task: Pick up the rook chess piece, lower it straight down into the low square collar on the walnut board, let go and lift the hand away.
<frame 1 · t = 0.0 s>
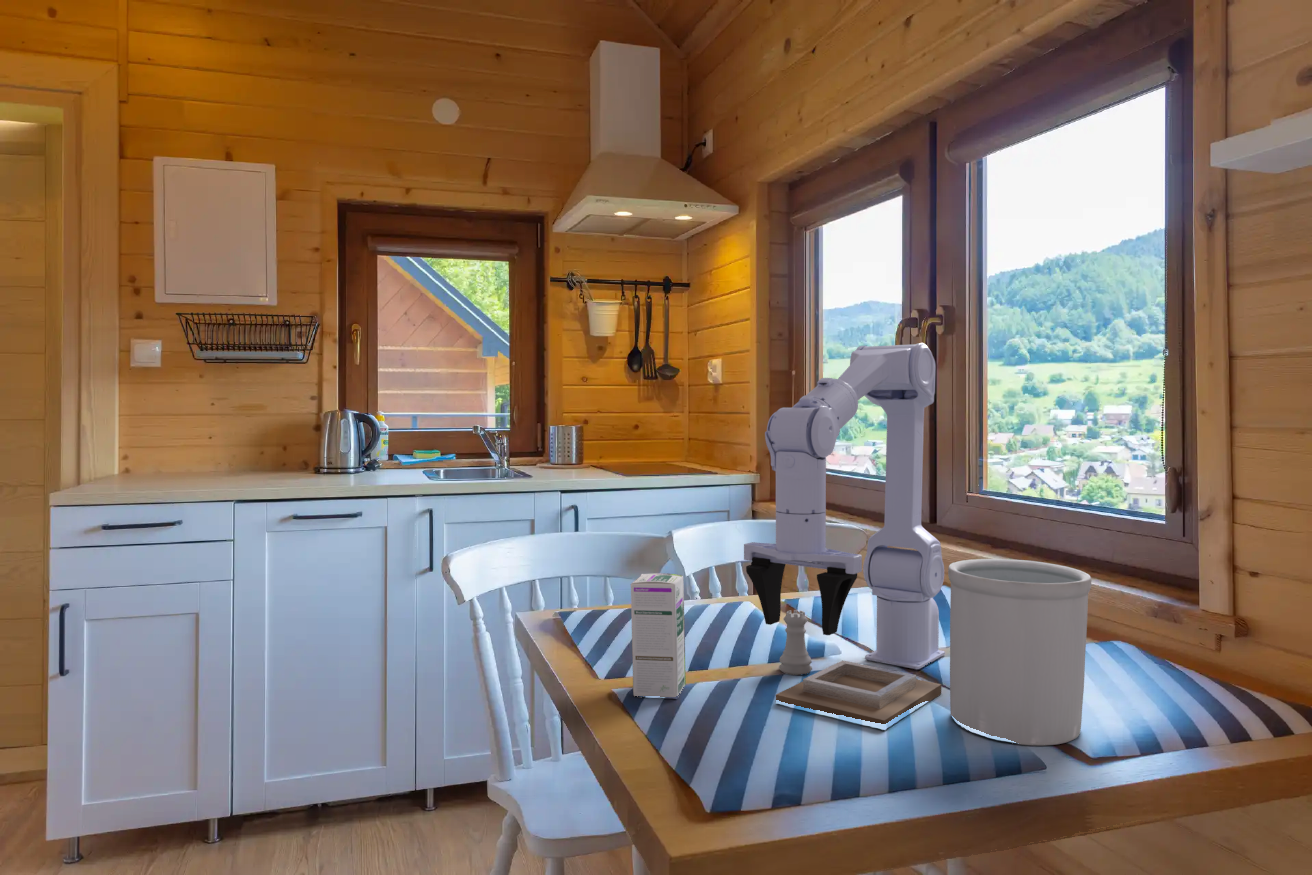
hand: (800, 627, 105), 10 cm above the table, tool pointing down, fingers open, 7 cm apart
rook chess piece: (795, 672, 122), on the table
syrup box: (659, 693, 114), on the table
collar board: (859, 698, 110), on the table
utensil holder: (1015, 725, 102), on the table
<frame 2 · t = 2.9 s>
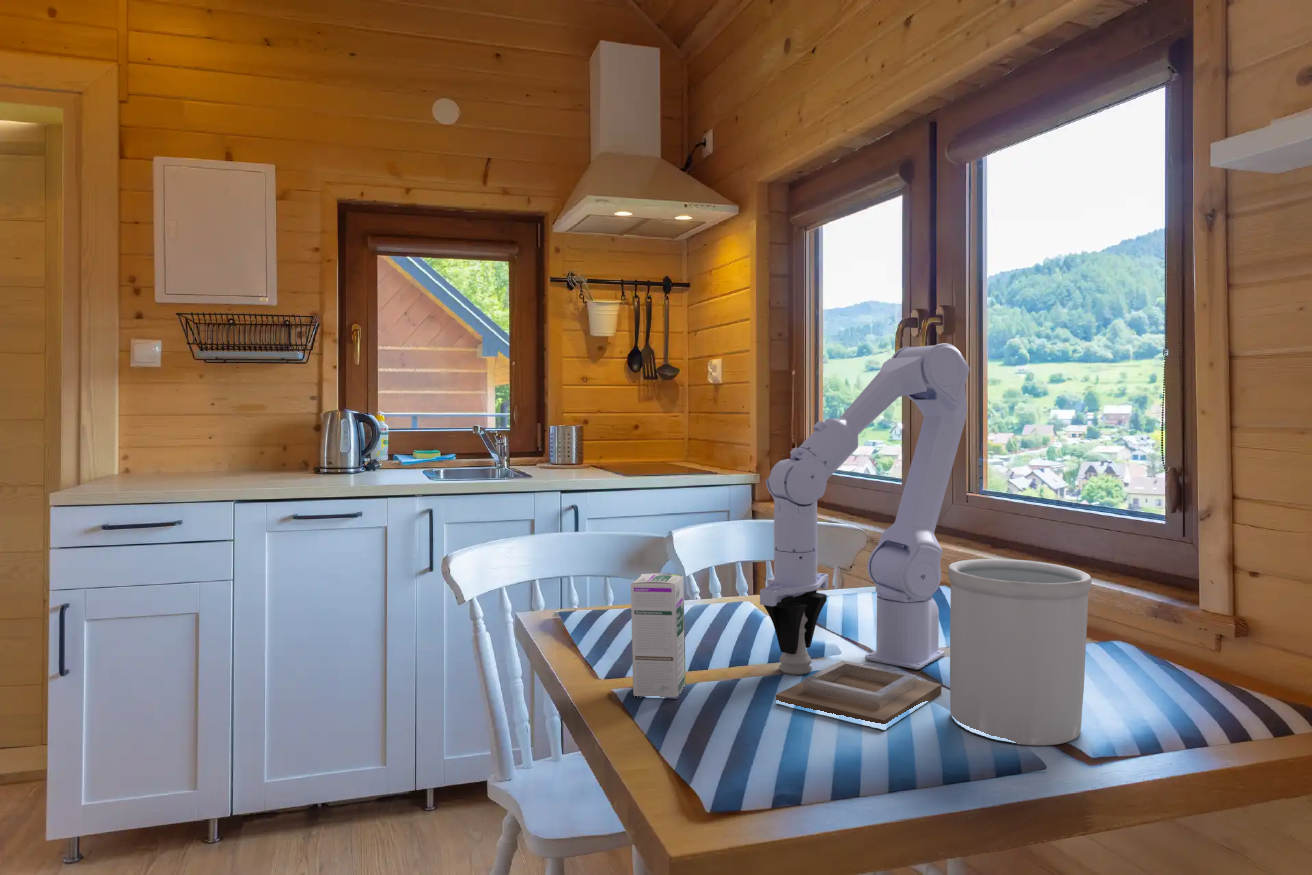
hand: (795, 649, 122), 3 cm above the table, tool pointing down, fingers closed on rook chess piece, 3 cm apart
rook chess piece: (795, 672, 122), on the table, touching gripper
everything else where it was.
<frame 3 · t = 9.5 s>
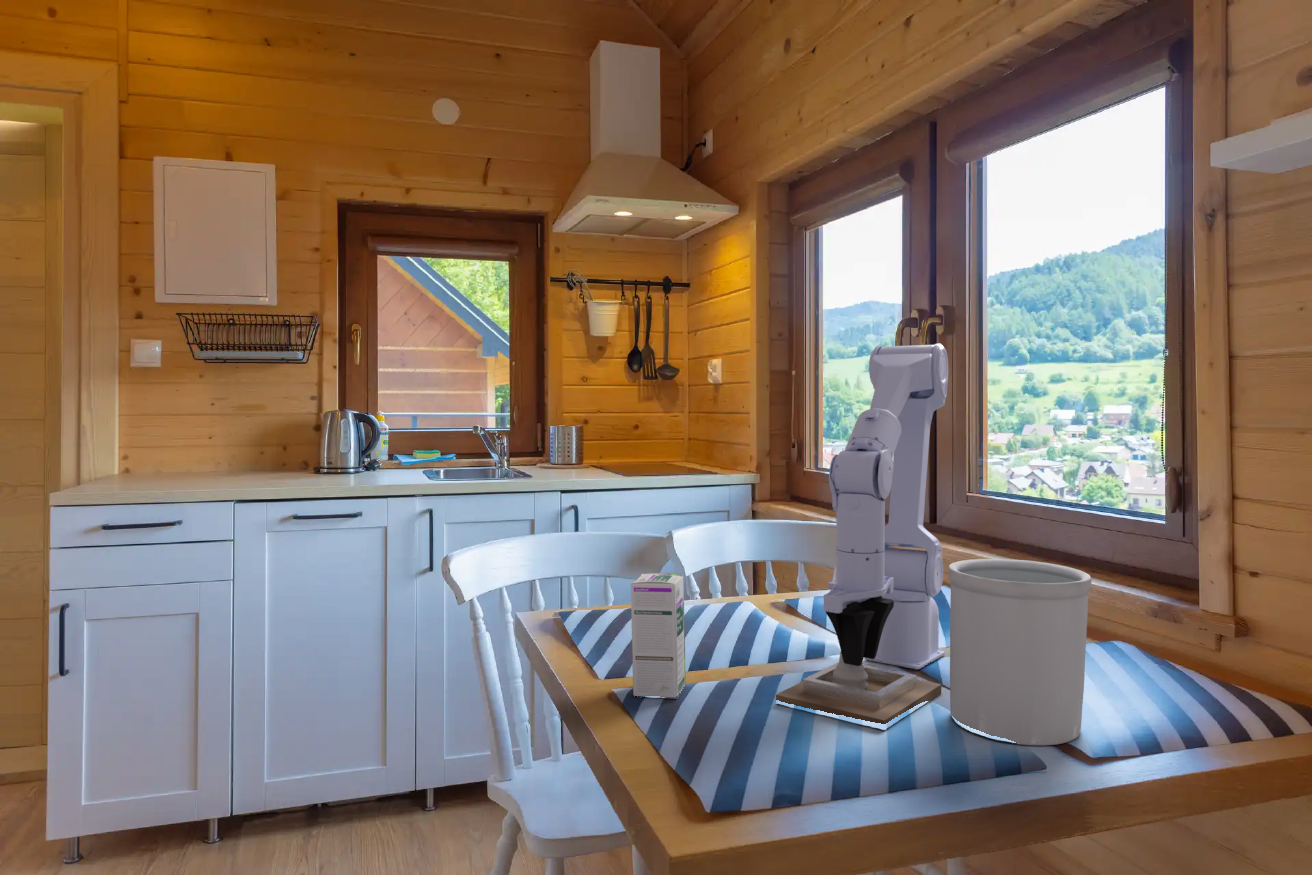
hand: (859, 660, 110), 5 cm above the table, tool pointing down, fingers closed on rook chess piece, 3 cm apart
rook chess piece: (850, 688, 111), point 1 cm above the table, touching collar board, gripper
everything else where it was.
when the fingers open (5 cm above the table, at t = 10.6 s): rook chess piece stays where it is, resting on collar board.
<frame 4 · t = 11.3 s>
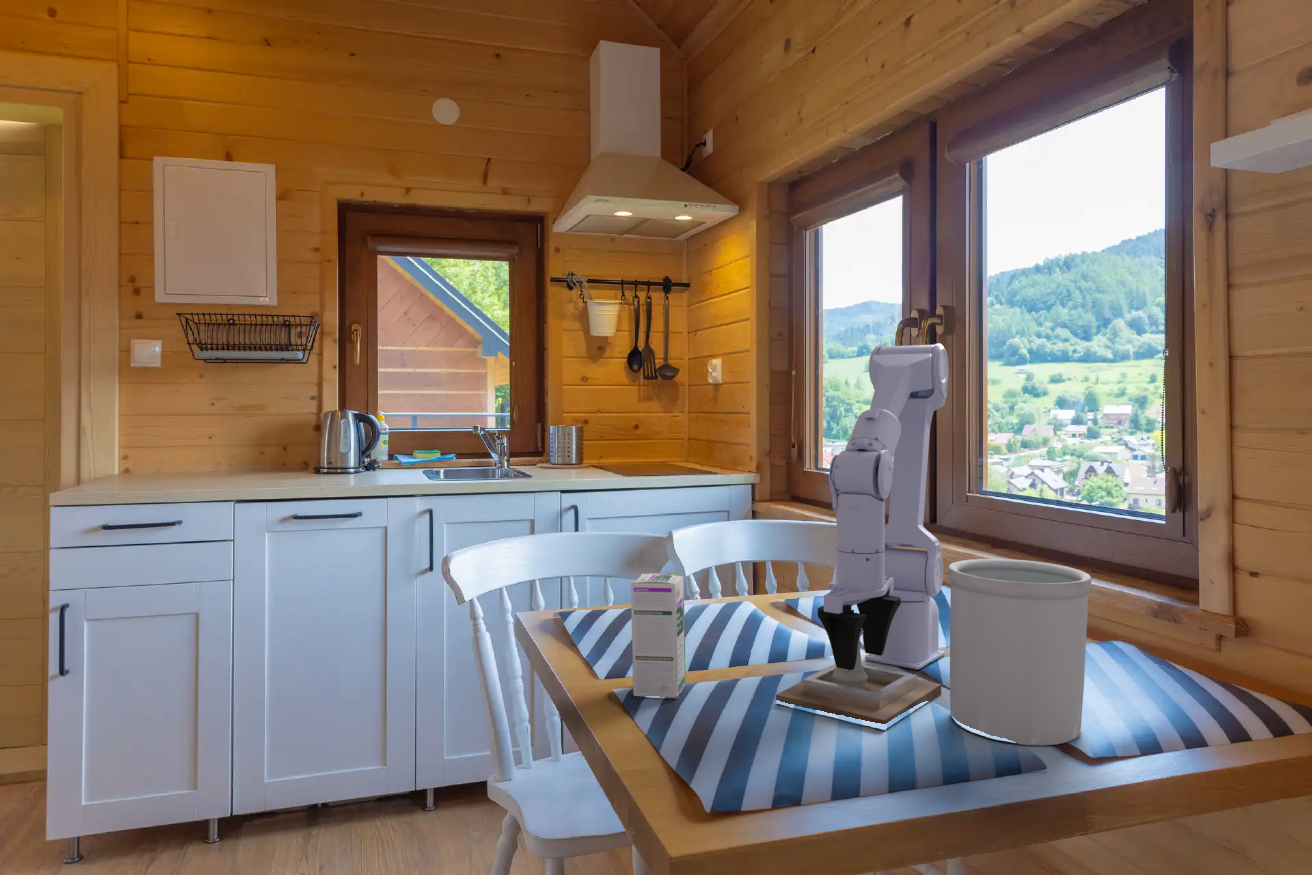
hand: (859, 660, 110), 5 cm above the table, tool pointing down, fingers open, 7 cm apart
rook chess piece: (850, 689, 111), point 1 cm above the table, touching collar board
everything else where it was.
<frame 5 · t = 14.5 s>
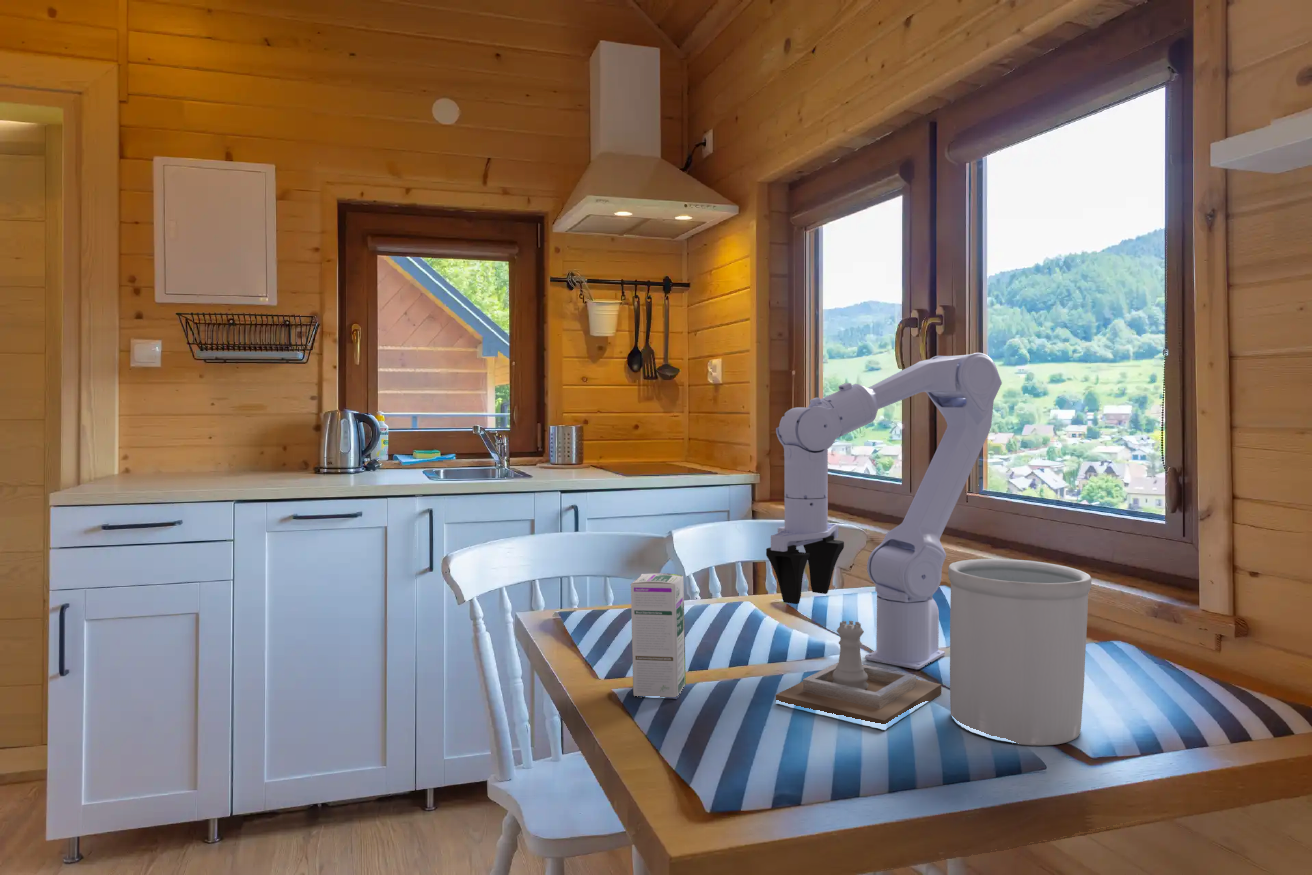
hand: (805, 597, 121), 10 cm above the table, tool pointing down, fingers open, 7 cm apart
nothing on the table moved.
at the end: rook chess piece 1.2 cm off-centre on the collar board, point 1.0 cm above the collar board's base; rook chess piece tilted 0°; the gripper is holding nothing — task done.
